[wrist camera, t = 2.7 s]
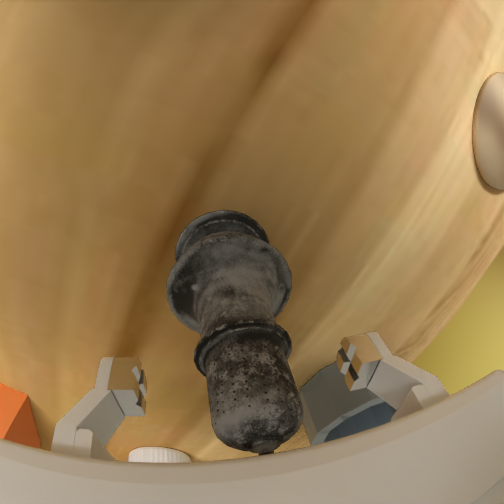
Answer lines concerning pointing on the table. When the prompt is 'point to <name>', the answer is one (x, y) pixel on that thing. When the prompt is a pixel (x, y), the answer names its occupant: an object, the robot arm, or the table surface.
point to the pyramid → (17, 418)
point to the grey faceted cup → (339, 407)
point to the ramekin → (157, 455)
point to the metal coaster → (490, 131)
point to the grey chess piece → (238, 328)
